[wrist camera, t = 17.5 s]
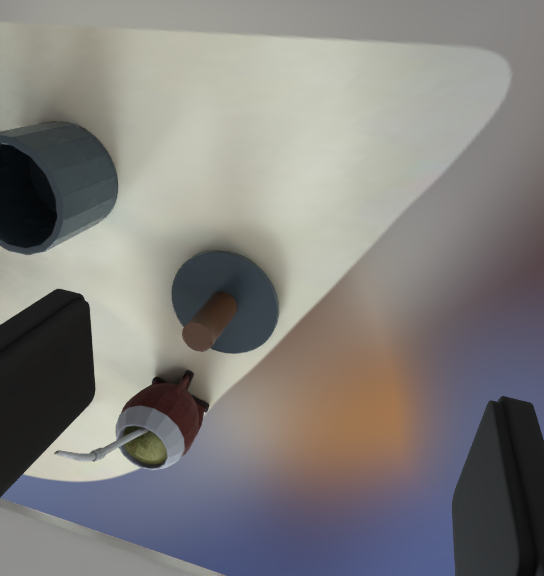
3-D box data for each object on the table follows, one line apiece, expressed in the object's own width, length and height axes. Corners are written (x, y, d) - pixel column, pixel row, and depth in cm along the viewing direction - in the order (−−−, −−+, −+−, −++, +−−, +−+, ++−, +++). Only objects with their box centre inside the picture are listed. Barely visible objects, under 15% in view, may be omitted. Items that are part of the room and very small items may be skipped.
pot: (20, 114, 42) (-52, 125, 36) (116, 130, 41) (57, 145, 34) (32, 215, 47) (-31, 242, 40) (119, 234, 45) (68, 264, 38)
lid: (177, 237, 43) (138, 266, 37) (287, 260, 41) (264, 294, 36) (175, 334, 48) (140, 373, 42) (274, 358, 46) (252, 403, 40)
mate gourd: (201, 432, 52) (125, 559, 39) (135, 396, 53) (38, 510, 40) (225, 381, 48) (150, 504, 35) (154, 344, 49) (54, 450, 36)
